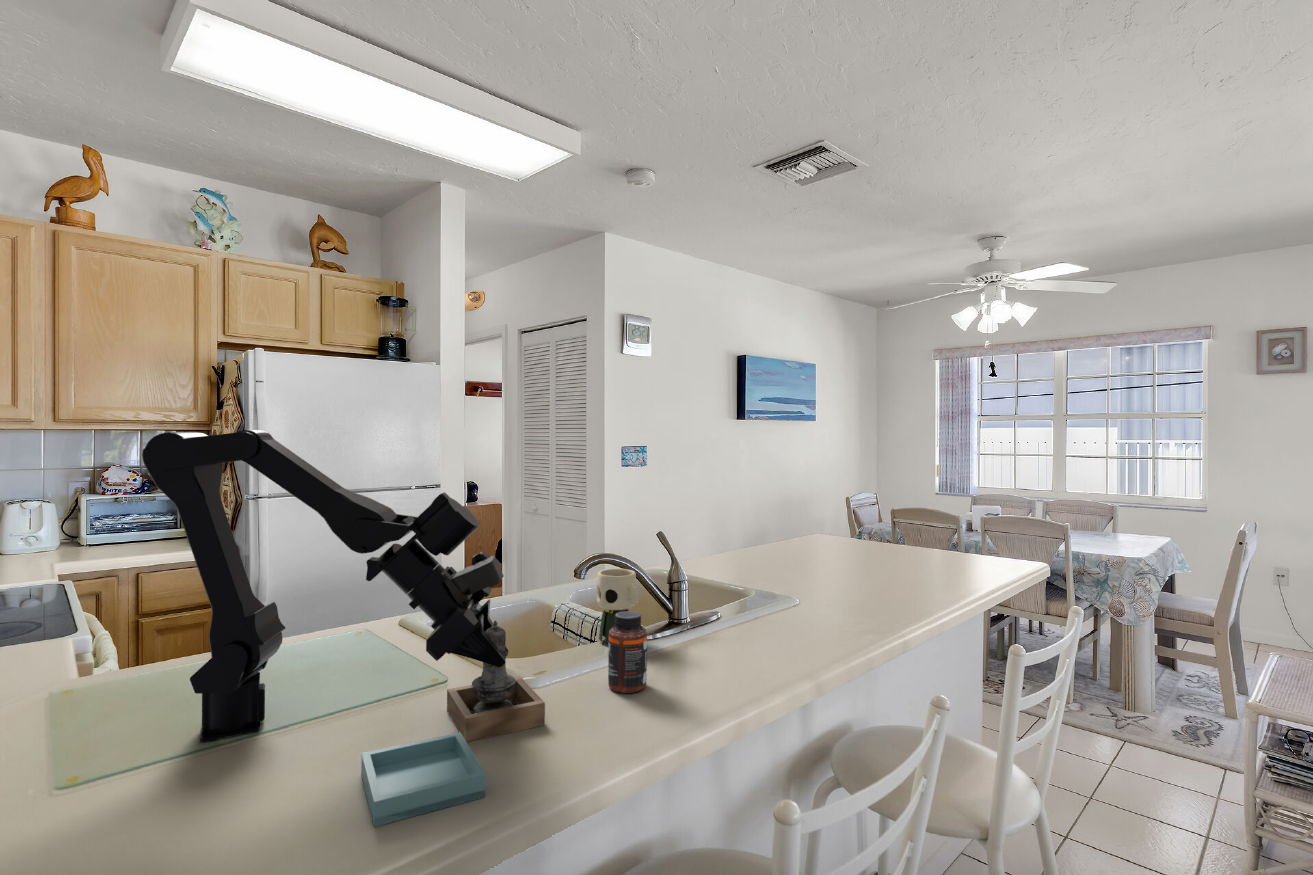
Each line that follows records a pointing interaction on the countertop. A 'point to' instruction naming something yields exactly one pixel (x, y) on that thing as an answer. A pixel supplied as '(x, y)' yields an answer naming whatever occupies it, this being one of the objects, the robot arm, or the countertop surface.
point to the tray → (420, 777)
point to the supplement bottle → (627, 653)
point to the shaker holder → (495, 712)
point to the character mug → (615, 596)
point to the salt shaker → (494, 677)
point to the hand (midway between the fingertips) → (504, 659)
